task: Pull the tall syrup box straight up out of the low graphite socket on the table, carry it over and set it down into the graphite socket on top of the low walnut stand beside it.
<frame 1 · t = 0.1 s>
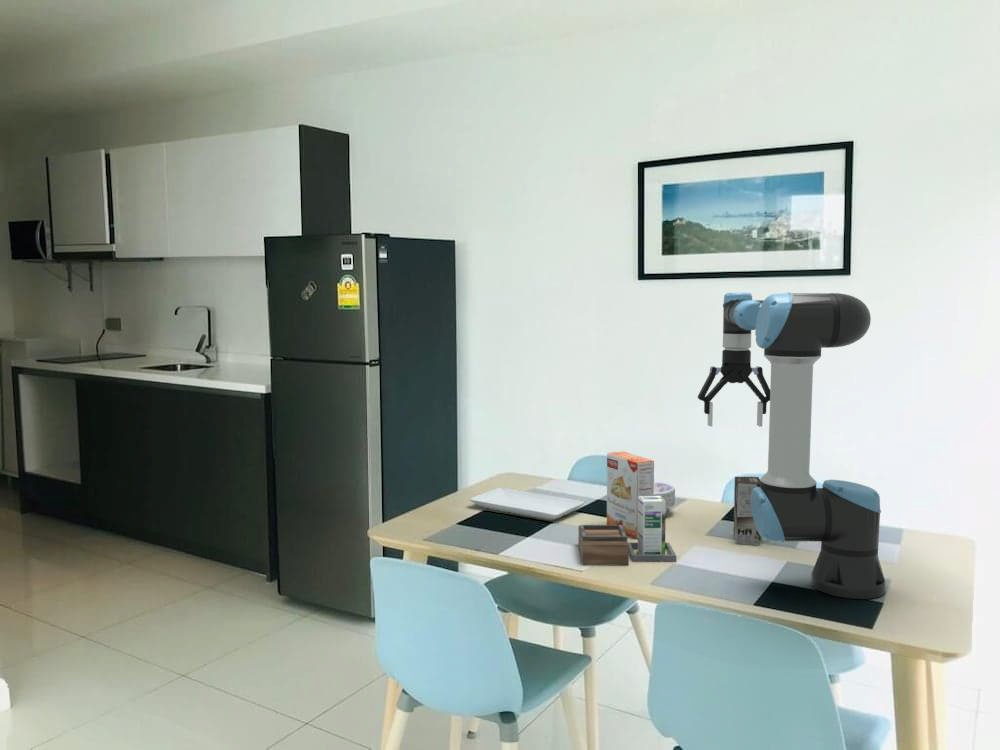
hand: (734, 425, 231), 28 cm above the table, tool pointing down, fingers open, 13 cm apart
cracker box: (629, 532, 228), on the table
low socket: (651, 554, 208), on the table
coffee box: (746, 540, 220), on the table
raised socket stand: (602, 554, 209), on the table
tray: (526, 511, 251), on the table
syrup box: (650, 555, 208), resting in low socket
paper bowls: (648, 513, 247), on the table
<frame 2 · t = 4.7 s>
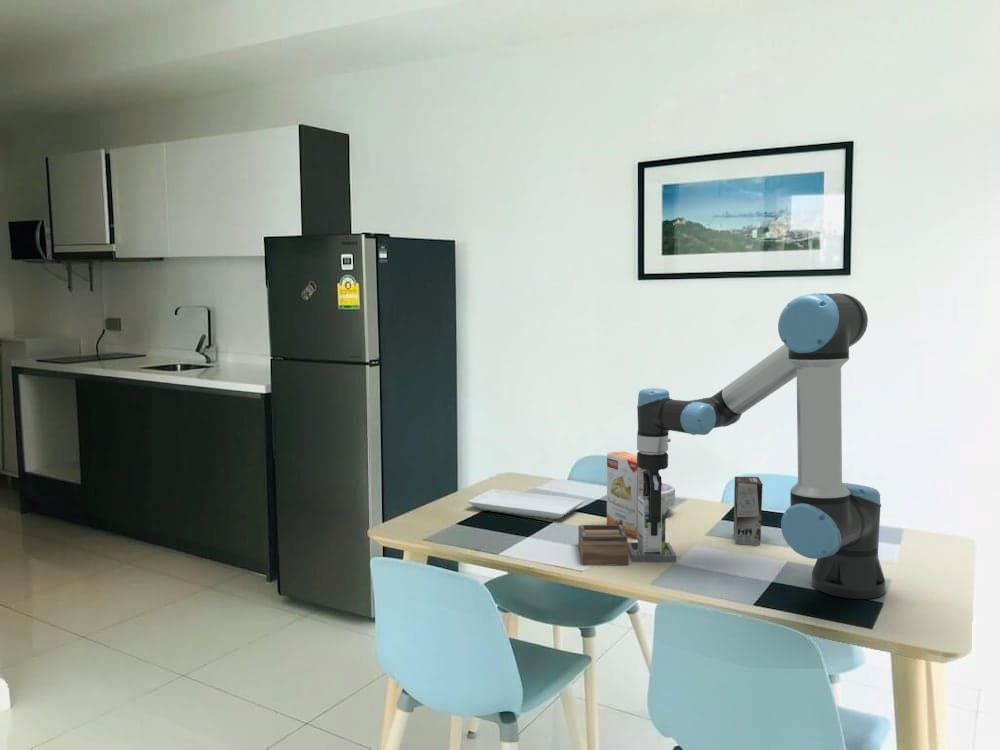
hand: (651, 543, 208), 3 cm above the table, tool pointing down, fingers closed on syrup box, 6 cm apart
syrup box: (650, 555, 208), resting in low socket, touching gripper
when the fingers open (10 cm above the table, at t = 10.1 s): syrup box drops 2 cm, resting on raised socket stand.
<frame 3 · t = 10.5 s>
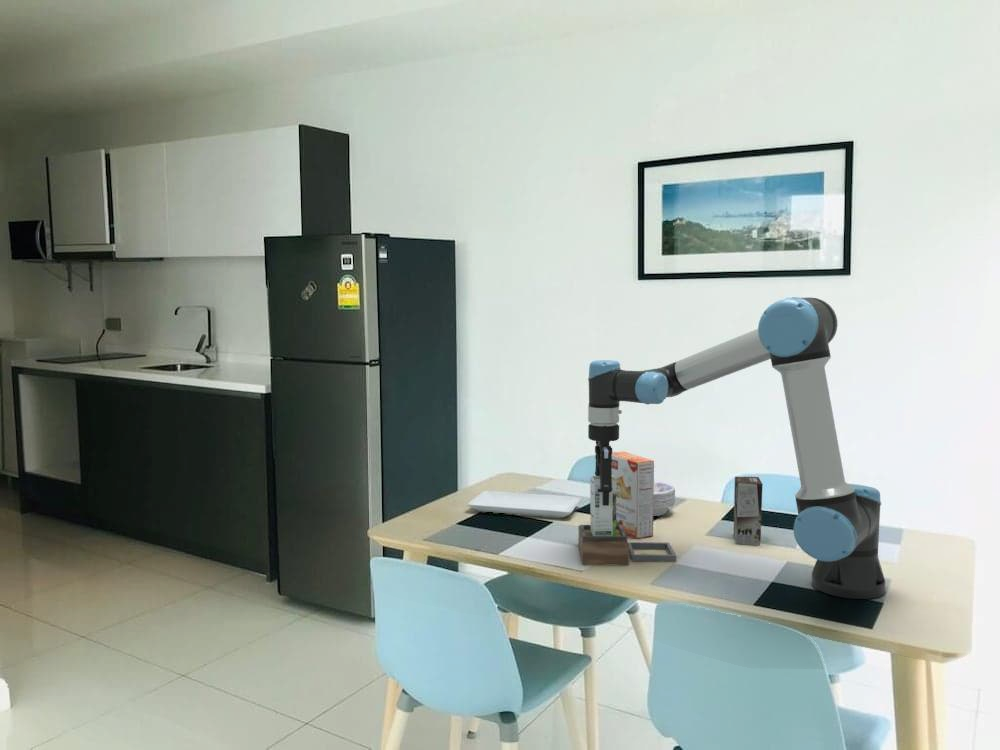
hand: (602, 511, 207), 11 cm above the table, tool pointing down, fingers open, 10 cm apart
syrup box: (603, 535, 208), point 5 cm above the table, touching raised socket stand
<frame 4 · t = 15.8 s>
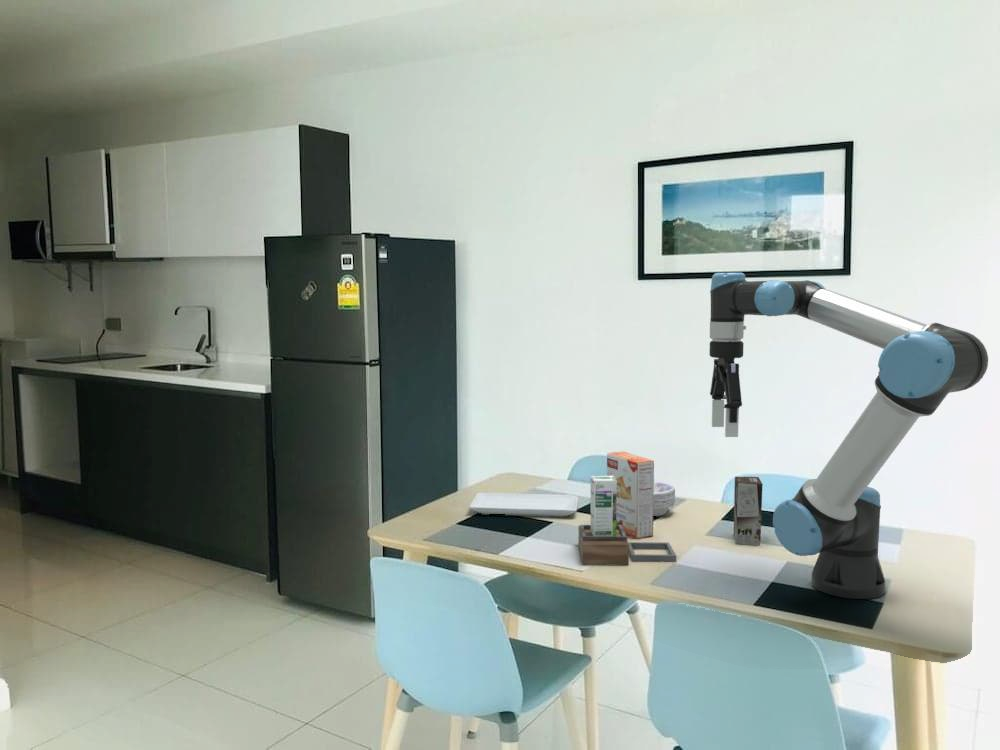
hand: (724, 431, 194), 33 cm above the table, tool pointing down, fingers open, 13 cm apart
at the end: syrup box 0.3 cm from the target spot, point 4.8 cm above the table; syrup box tilted 0°; the gripper is holding nothing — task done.
